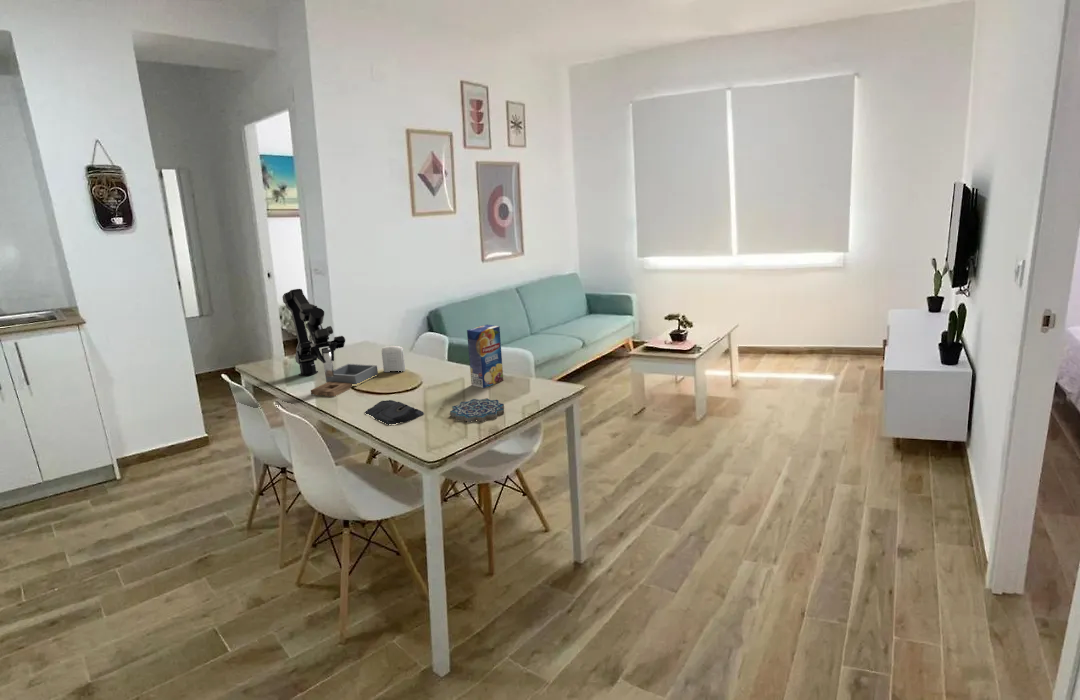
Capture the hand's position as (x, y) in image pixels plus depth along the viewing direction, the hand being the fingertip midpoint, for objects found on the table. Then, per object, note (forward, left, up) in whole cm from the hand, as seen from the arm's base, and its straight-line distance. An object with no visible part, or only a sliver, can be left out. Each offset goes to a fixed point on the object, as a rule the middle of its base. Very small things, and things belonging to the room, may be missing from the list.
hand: (328, 361), depth 259 cm
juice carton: (+61, +25, -14) cm, 67 cm away
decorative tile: (+73, -8, -14) cm, 75 cm away
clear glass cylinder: (-1, +1, -7) cm, 7 cm away
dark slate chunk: (+42, -17, -14) cm, 47 cm away
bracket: (-1, +1, -13) cm, 14 cm away
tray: (-2, +16, -13) cm, 21 cm away
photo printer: (+10, +32, -14) cm, 36 cm away
